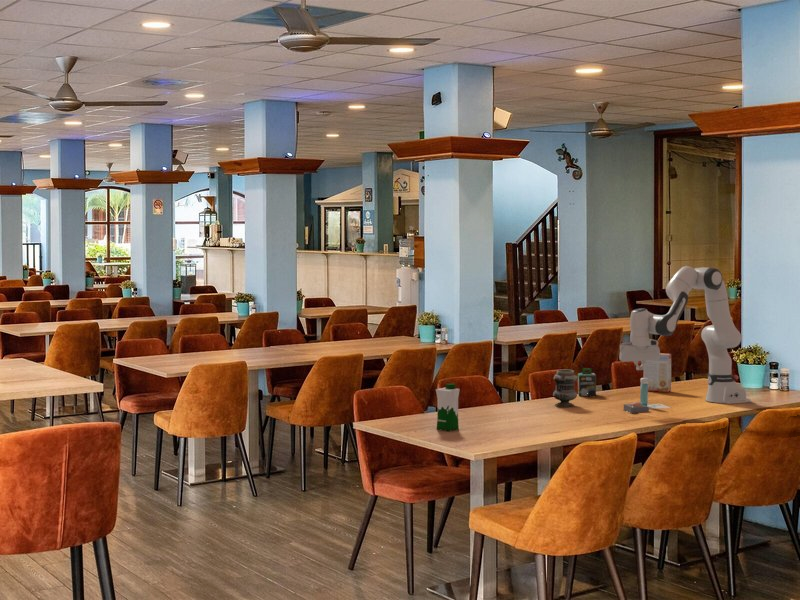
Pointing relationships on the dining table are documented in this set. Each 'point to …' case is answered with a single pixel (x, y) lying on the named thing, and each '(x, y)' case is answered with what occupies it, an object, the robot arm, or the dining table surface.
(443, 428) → the milk carton
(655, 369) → the cracker box
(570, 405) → the apothecary jar
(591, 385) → the chalk box
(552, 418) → the dining table surface
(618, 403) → the dining table surface
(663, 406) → the picture board
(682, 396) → the dining table surface
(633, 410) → the button housing
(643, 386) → the marker
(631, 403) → the button
